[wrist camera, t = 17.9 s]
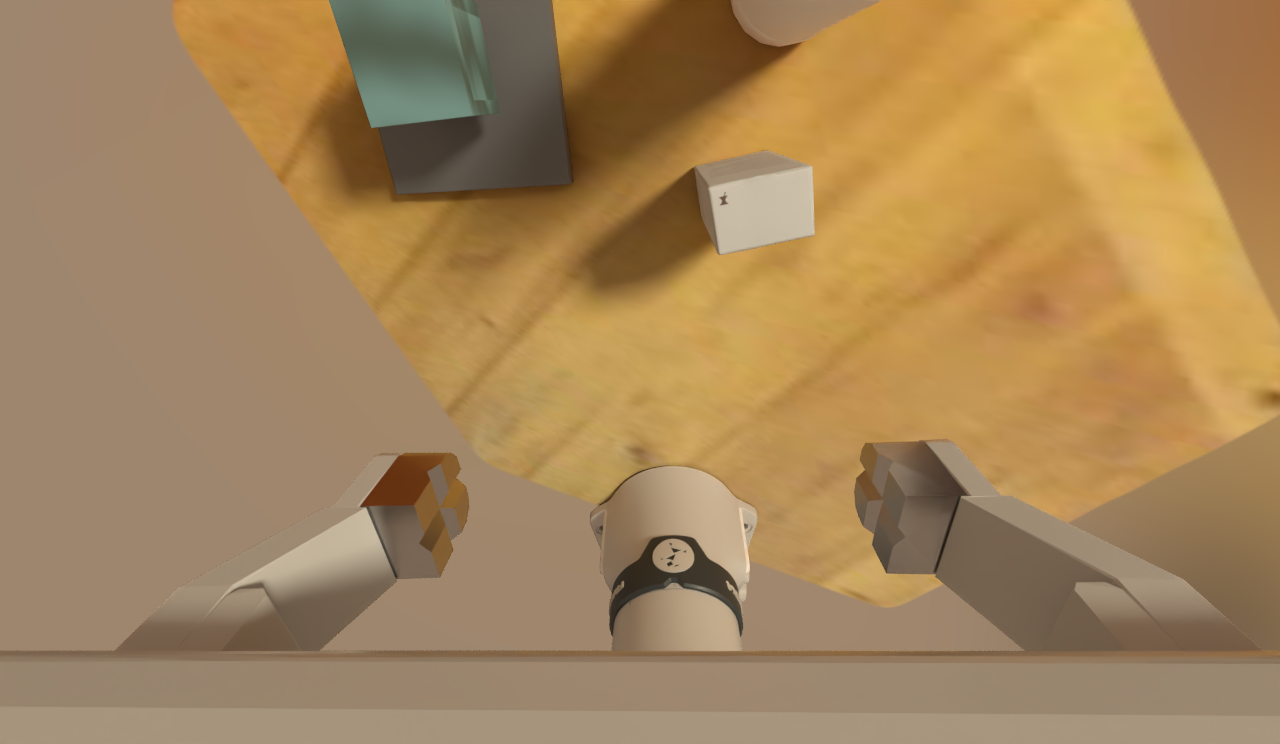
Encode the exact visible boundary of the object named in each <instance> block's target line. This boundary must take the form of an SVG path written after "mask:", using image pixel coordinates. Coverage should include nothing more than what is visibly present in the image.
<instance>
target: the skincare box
mask: <svg viewBox="0 0 1280 744" xmlns="http://www.w3.org/2000/svg"><path fill="white" fill-rule="evenodd" d="M694 171H695V177H696V185H697V192H698V198H699V204H700V210H701V217H702V220H703V222H704V224H705V226H706V229H707V231H708V233H709V235H710V237H711V240H712V242H713V244H714V246H715V248H716V251H717V253H718V254H719V255H724V254H729V253H734V252H739V251H744V250H749V249H754V248H758V247H763V246H767V245H772V244H776V243H781V242H786V241H790V240H795V239H800V238H805V237H810V236H814V234H815V233H814V201H813V169H812V166H810V165H808V164H805V163H802V162H799V161H797V160H794V159H791V158H788V157H785V156H783V155H780V154H777V153H774V152H772V151H769V150H766V151H761V152H757V153H752V154H748V155H743V156H739V157H734V158H730V159H725V160H721V161H717V162H712V163H708V164H703V165H699V166H695V167H694Z"/></svg>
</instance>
